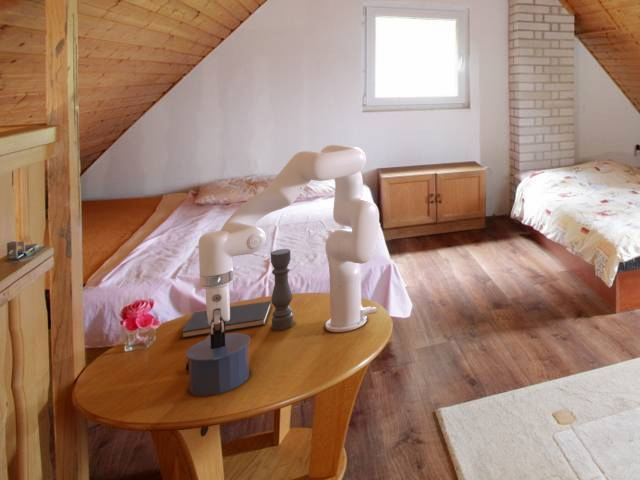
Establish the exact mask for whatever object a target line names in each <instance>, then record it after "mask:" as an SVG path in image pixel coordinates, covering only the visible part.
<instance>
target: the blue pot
mask: <svg viewBox="0 0 640 480" xmlns="http://www.w3.org/2000/svg"><path fill="white" fill-rule="evenodd" d="M187 360H188V361H187V362H188V364H189V372H188V385H189V386H188V388H189V393H191V394H192V395H194V396H197V397H209V396H210V397H211V396H215V395H220V394H223V393H227V392H230V391H232V390H234V389H236V388H238V387H239V386H241V385H242V384H244V383H245V382H246V381H247V380H248V378H249V376H250V357H249V345H248V346H247V347H245V348H244V349H243V350H241V351H239V352H237V353H235V354H233V355H231V356H228V357H225V358H221V359H217V360H212V361H205V362H196V361H191V360H189V359H187Z"/></svg>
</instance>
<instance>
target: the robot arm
mask: <svg viewBox="0 0 640 480" xmlns="http://www.w3.org/2000/svg"><path fill="white" fill-rule="evenodd" d="M366 165H367V155H366V153H365V152H364V150H362V149H361V148H359V147H356V146H355V147H354V146H348V145H347V146H346V145H340V144H339V145H338V144H330V145H326V146H324V147H323V148H322V149H321V150H320V152H317V151H309V150H303V151H299V152H296V153H295V154H294V155H293V156H292V157H291V158H290V160H289V161H288V162H287V163H286V165H284V167H282V168H281V170H280V172H279V173H278V174H277V175H276V176H275V178H274V179H273V180H272V181H271V182H270V183H269V184H268V186H267V187H266V188H265V189H263V190H262V191H260V192H258V193H256V194H255V195H254V196H253V197H251V198H250V199H248V200H247V201H245V202H244V203H243V204H241V205H240V206H239V207H238V208H237V209H236V210H234V212H233V213H232V214H231V215H230V216H229V218H228V219H227V220H226V221H225V222H224V224H223V225H222V226H221V228H220V230H216V231H212V232H207V233H204V234H203V235H201V236H200V237H199V239H198V263H199V264H198V265H199V287H200V289H205V306H206V307H205V308H206V310H207V317H208V324H209V325H211V334H210V337H211V349H215V348H220V347H224V346H225V334H226V332H227V331H226V329H225V321H227V322H228V321H229V320H230V307H231V298H230V296H231V295H230V284H231V283H233V282H234V265H233V257H238V256H245V255H246V256H247V255H251V254H254V253H257V252H259V251H260V250H261V249H262V248H263V247H264V246H265V244H266V242H267V234H266V233H265V231H264V230H263V229H262V228H260V227H258V226H255V225H256V224H257V223H258V222H259V221H260V220H262V218H264V217H266V216H267V215H269V214H271V213H273V212H277V211H280V210H282V209H285V208H288V207H290V206H291V205H293V203H294V202H295V201H296V199H297V198H298V197H299V196H300V195H301V193H302V192H303V191H304V189H305V188H306V187H307V185H308V184H309V183H310V182H311V181H316V182H324V181H325V182H326V181H329V180H334V200H333V212H332V215H333V216H332V218H333V220H334V222H335V223H336V224H338V225H340V226H344V227H349V228H351V229H349V228H340V229H335V230H334V231H333V232H331V233H330V234H329V235H328V236H327V239H326V241H325V254H326V259H327V263H328V271H329V308H330V309H329V311H330V318H329V319H328V320H327V321H326V322H325V329H326V330H327V331H329V332H331V333H345V332H350V331H353V330H355V329H358V328H361V327H362V326H364V325H365V324H366V323H367V321H368V315H373V314H377V313H378V309H377V307H376V306H375V307H372V305H370V306H367V307H366V306H365V307H364V306H363V304H362V270H361V265H362V264H366V263H368V262H369V261H370V260H372V258H373V257H374V256H375V253H376V251H377V246H378V237H379V227H380V226H379V225H380V211H379V207H378V206H377V204H376V203H375V202H374V201H372V200H370V199H368V198H367V199H366V198H364V197H363V194H364V193H363V192H364V179H363V175H362V172H361V171H362V170H363V169H364V168H365V166H366ZM224 330H225V331H226V332H225V331H224Z"/></svg>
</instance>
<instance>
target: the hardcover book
mask: <svg viewBox="0 0 640 480" xmlns="http://www.w3.org/2000/svg"><path fill="white" fill-rule="evenodd" d="M271 308H272V302H271V300H267V301H266V300H265V301H261V302H260V301H259V302H251V303H246V304H240V305H233V306H230V320H229V321H228V322H227V321H225V329H226V331H225V333H226V332H232V331H237V330H244V329H251V328H257V327H262V326H265V325H266V322H267V319H268V317H269V314H270V311H271ZM180 333H181V334H182V336H181V339H182V340H183V339H189V338H194V337H201V336H206V335H207V336H208V335H209V334H210V333H211V325H209V324H208V317H207V309H206V310H199V311H194V312H193V313H192V315H191V316H190V318H189V319H188V321H187V322H186V324H185V325H184V327H183V329H181V332H180Z"/></svg>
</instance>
